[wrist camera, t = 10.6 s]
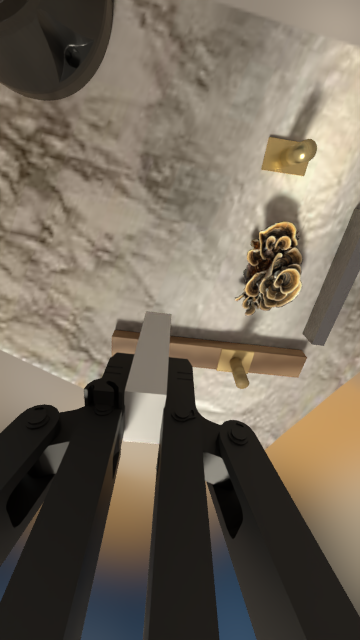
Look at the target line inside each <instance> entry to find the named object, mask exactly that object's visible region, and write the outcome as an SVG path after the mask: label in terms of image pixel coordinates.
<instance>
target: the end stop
mask: <svg viewBox="0 0 360 640" xmlns="http://www.w3.org/2000/svg"><path fill="white" fill-rule="evenodd" d="M359 270H360V209H355V210H354V212H353V214H352V217H351V219H350V222H349V224H348V226H347V229H346V231H345V234H344V236H343V238H342V241H341V243H340V246H339V248H338V250H337V253H336V255H335V258H334V260H333V262H332V265H331V267H330V270H329V272H328V274H327V277H326V279H325V282H324V284H323V286H322V289H321V291H320V293H319V296H318V298H317V301H316V303H315V305H314V308H313V310H312V313H311V315H310V317H309V320H308V322H307V325H306V327H305V329H304V332H303V335H304V336H305V337H306V338H307V339H308V340H309V342H310V343H311V344H314V345H323V346H324V344H325V342H326V340H327V338H328V336H329V333H330V331H331V329H332V327H333V325H334V323H335V321H336V319H337V317H338V315H339V312H340V310H341V308H342V306H343V304H344V302H345V300H346V298H347V296H348V294H349V291H350V289H351V287H352V285H353V283H354V281H355V279H356V277H357V275H358V272H359Z"/></svg>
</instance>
